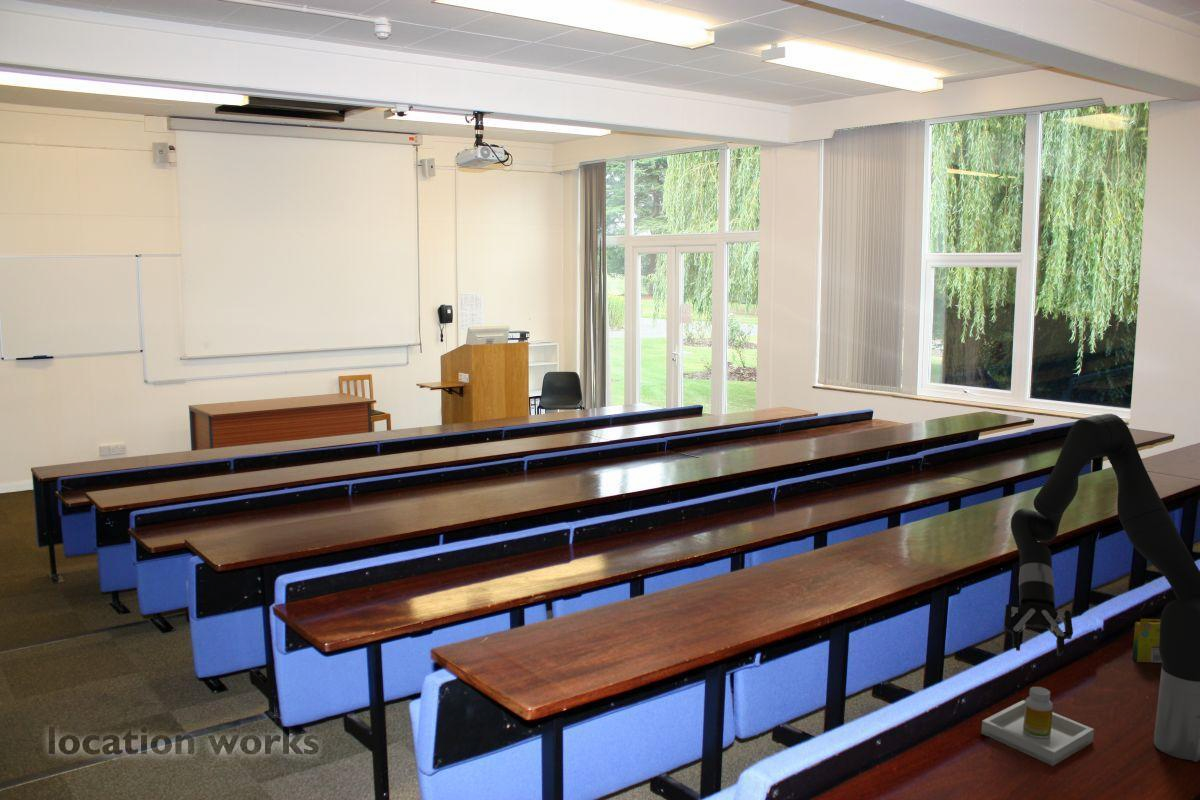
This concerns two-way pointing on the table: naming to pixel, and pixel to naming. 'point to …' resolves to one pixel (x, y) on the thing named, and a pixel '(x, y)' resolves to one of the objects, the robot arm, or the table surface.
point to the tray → (1049, 750)
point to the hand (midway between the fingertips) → (1038, 651)
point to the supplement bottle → (1038, 713)
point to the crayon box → (1147, 641)
